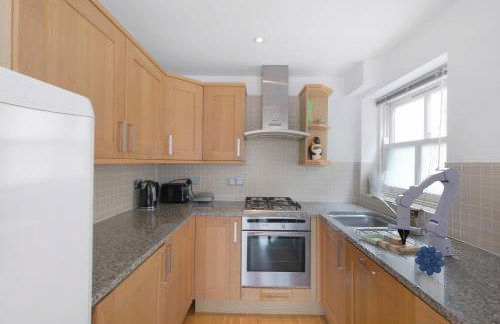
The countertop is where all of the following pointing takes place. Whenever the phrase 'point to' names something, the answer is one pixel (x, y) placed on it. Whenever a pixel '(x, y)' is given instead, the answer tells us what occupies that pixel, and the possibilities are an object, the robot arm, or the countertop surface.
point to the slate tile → (388, 237)
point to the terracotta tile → (396, 240)
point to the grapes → (429, 260)
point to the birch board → (399, 247)
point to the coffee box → (416, 220)
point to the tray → (372, 238)
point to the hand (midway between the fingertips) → (403, 244)
